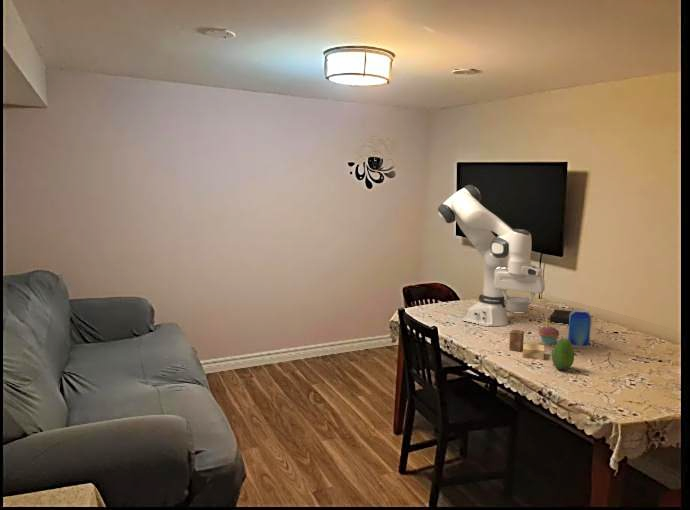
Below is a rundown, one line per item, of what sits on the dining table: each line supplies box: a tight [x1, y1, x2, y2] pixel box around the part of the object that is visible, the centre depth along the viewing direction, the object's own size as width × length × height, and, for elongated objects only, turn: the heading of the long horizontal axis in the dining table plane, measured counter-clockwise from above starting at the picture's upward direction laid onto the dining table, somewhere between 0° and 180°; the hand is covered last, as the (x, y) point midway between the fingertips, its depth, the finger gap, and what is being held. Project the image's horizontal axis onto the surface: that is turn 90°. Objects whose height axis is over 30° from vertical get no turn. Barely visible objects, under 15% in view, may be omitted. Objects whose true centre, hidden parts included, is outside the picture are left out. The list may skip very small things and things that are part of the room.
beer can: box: [567, 307, 592, 349], centre depth 226 cm, size 8×8×16 cm
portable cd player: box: [549, 309, 572, 326], centre depth 268 cm, size 16×17×4 cm
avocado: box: [551, 338, 575, 371], centre depth 199 cm, size 8×8×12 cm
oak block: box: [522, 342, 545, 361], centre depth 215 cm, size 8×8×4 cm
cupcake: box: [538, 316, 560, 345], centre depth 232 cm, size 9×8×12 cm
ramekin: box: [506, 295, 530, 313], centre depth 289 cm, size 13×13×7 cm
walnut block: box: [508, 329, 525, 353], centre depth 222 cm, size 4×4×8 cm
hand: (517, 301), depth 220 cm, fingers open, 8 cm apart
